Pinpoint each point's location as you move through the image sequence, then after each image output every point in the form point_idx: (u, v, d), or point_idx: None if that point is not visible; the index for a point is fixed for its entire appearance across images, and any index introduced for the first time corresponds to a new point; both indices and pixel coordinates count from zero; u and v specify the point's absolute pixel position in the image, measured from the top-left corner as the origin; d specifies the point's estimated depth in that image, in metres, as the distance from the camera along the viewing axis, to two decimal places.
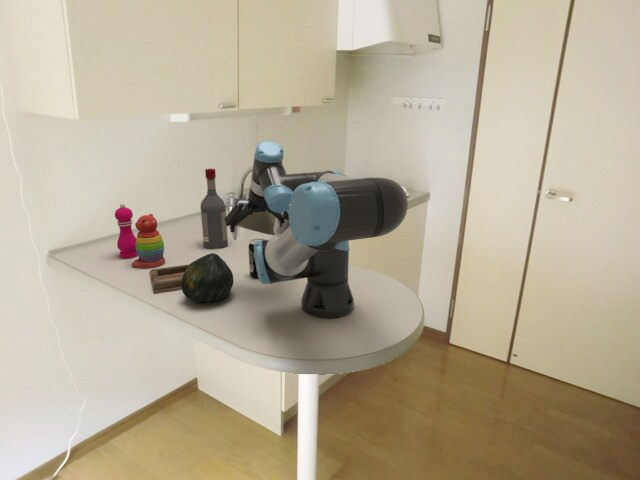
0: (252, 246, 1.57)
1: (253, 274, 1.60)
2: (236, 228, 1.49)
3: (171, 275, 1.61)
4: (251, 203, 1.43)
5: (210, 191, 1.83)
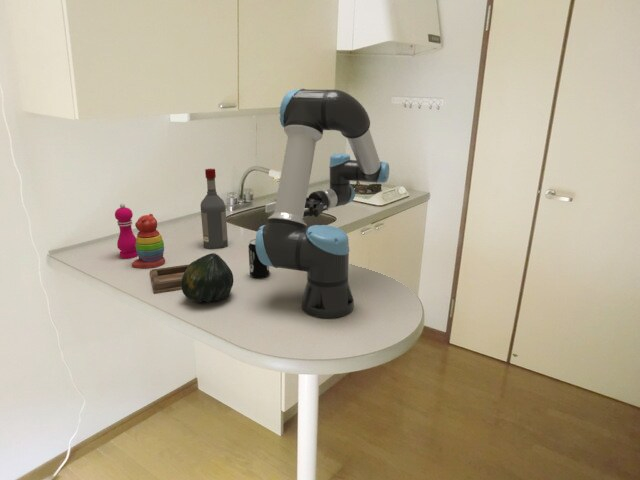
0: (252, 246, 1.57)
1: (253, 274, 1.60)
2: None
3: (171, 275, 1.61)
4: None
5: (210, 191, 1.83)
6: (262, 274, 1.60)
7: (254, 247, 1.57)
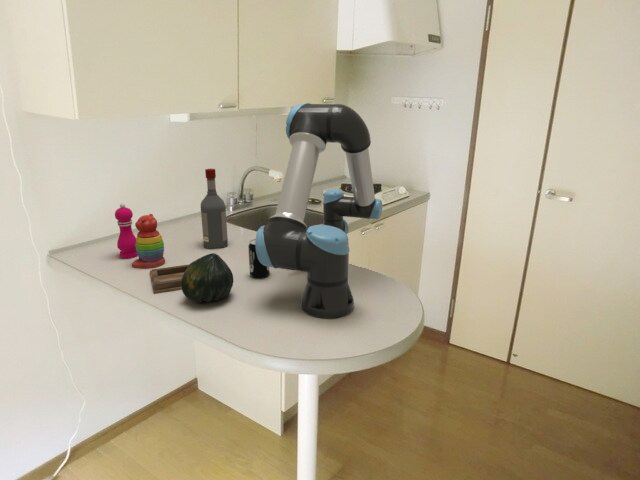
0: (252, 246, 1.57)
1: (253, 274, 1.60)
2: None
3: (171, 275, 1.61)
4: None
5: (210, 191, 1.83)
6: (262, 274, 1.60)
7: (254, 247, 1.57)
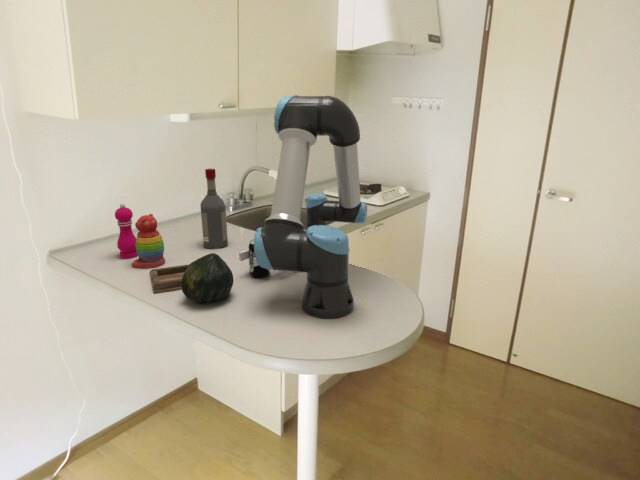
0: (252, 246, 1.57)
1: (253, 274, 1.60)
2: None
3: (171, 275, 1.61)
4: None
5: (210, 191, 1.83)
6: (262, 274, 1.60)
7: None
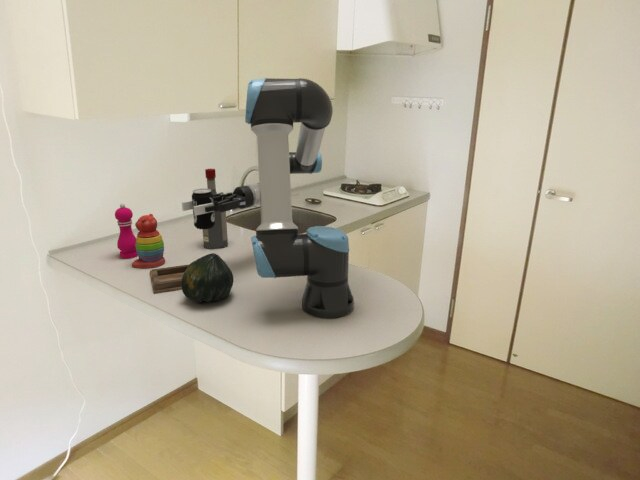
0: (194, 195, 1.51)
1: (196, 225, 1.54)
2: None
3: (171, 275, 1.61)
4: None
5: None
6: (206, 225, 1.54)
7: (196, 196, 1.51)
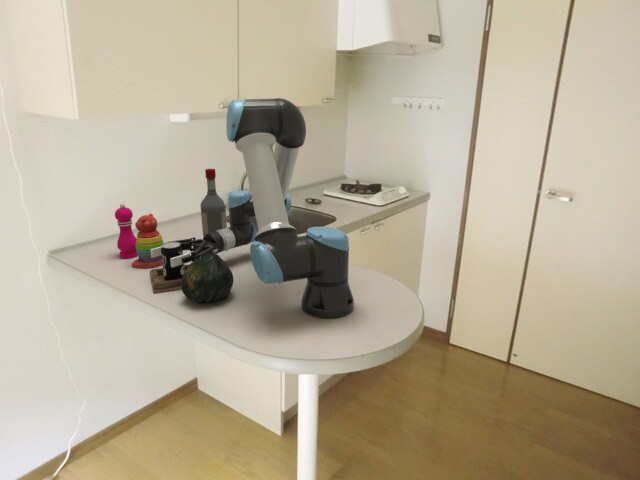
0: (163, 249, 1.52)
1: (166, 278, 1.55)
2: None
3: None
4: None
5: (210, 191, 1.83)
6: (176, 278, 1.54)
7: (165, 251, 1.51)
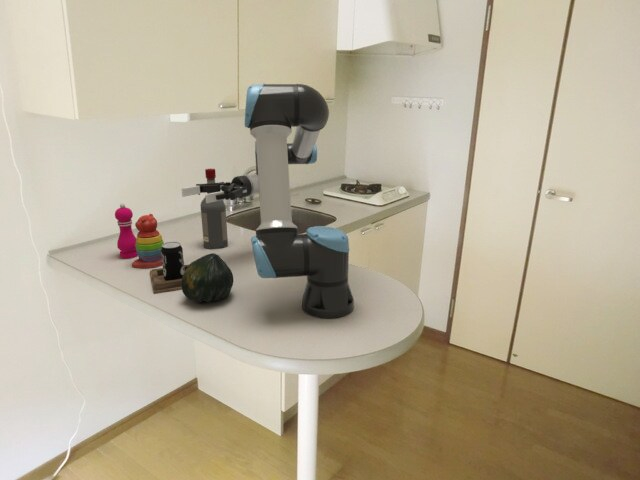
0: (163, 249, 1.52)
1: (166, 278, 1.55)
2: (197, 186, 1.65)
3: None
4: None
5: None
6: (176, 278, 1.54)
7: (165, 250, 1.51)
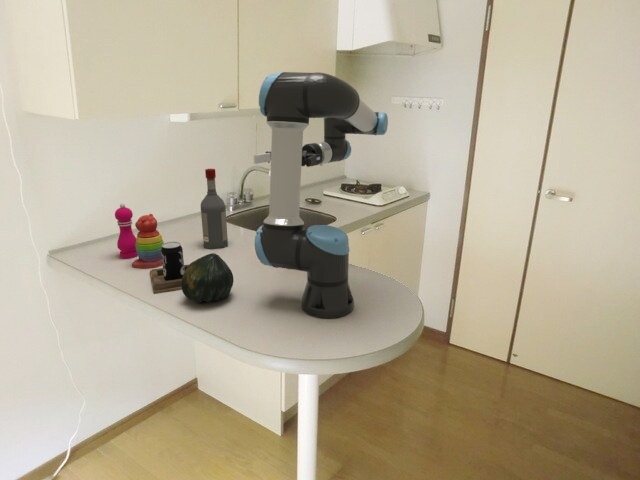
0: (163, 249, 1.52)
1: (166, 278, 1.55)
2: (268, 153, 1.59)
3: None
4: None
5: (210, 191, 1.83)
6: (176, 278, 1.54)
7: (165, 250, 1.51)
